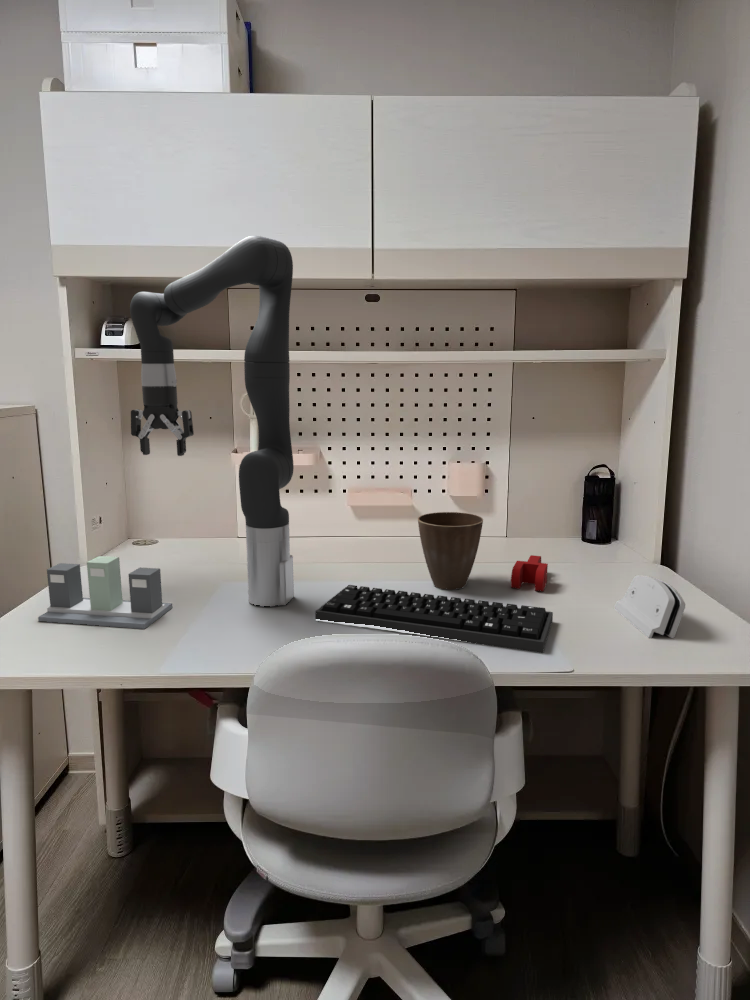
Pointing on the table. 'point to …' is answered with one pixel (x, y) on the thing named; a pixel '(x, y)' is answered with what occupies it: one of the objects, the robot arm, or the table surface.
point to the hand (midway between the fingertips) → (163, 455)
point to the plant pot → (450, 546)
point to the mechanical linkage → (530, 573)
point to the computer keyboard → (442, 617)
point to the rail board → (129, 614)
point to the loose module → (104, 583)
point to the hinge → (652, 606)
